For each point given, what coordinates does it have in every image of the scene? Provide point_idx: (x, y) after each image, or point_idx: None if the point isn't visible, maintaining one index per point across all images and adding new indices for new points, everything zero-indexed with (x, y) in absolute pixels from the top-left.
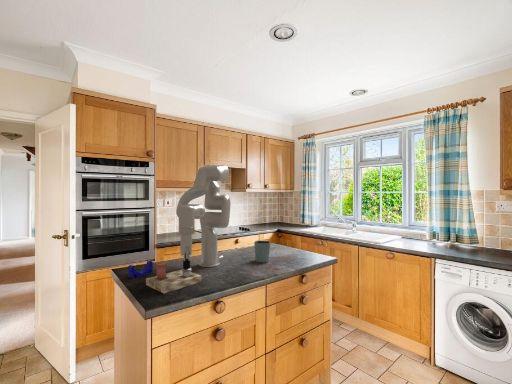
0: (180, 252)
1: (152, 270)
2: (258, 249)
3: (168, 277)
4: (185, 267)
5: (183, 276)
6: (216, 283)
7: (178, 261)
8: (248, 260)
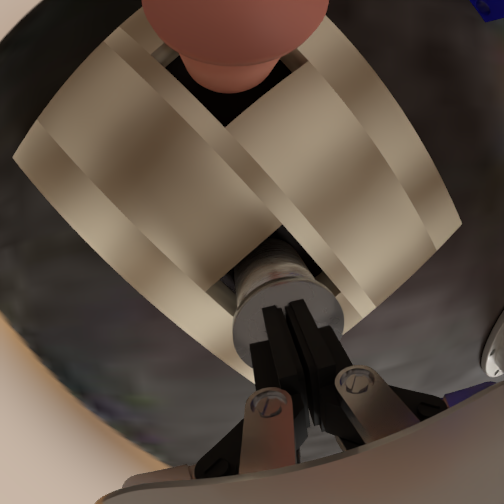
0: (431, 438)
1: (492, 19)
2: None
3: (248, 118)
4: (249, 345)
5: (245, 272)
6: (221, 423)
7: None
8: None
